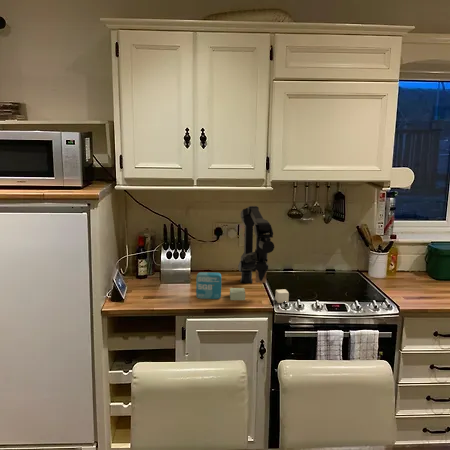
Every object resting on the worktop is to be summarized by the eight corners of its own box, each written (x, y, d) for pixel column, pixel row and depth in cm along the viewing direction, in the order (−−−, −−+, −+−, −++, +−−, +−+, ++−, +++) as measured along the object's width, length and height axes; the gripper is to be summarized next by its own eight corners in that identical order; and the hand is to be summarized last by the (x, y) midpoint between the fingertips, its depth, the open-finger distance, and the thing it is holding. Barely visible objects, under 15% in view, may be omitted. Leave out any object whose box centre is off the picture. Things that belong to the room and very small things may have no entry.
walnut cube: (255, 279, 229) (255, 269, 228) (265, 279, 229) (266, 269, 228) (255, 282, 224) (255, 272, 223) (265, 282, 224) (266, 272, 223)
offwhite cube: (275, 299, 227) (275, 289, 226) (285, 299, 228) (285, 289, 227) (278, 303, 222) (278, 293, 221) (288, 302, 223) (288, 292, 222)
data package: (196, 298, 226) (196, 274, 224) (196, 295, 230) (197, 272, 228) (220, 299, 226) (221, 275, 223) (221, 296, 230) (221, 272, 228)
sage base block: (229, 295, 232) (229, 288, 231) (243, 295, 232) (244, 288, 231) (230, 300, 225) (230, 292, 224) (245, 300, 225) (245, 292, 224)
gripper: (245, 242, 233) (244, 272, 236) (244, 252, 215) (243, 284, 218) (267, 243, 233) (266, 273, 236) (268, 252, 214) (267, 285, 217)
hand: (260, 279), depth 227 cm, fingers closed on walnut cube, 5 cm apart
